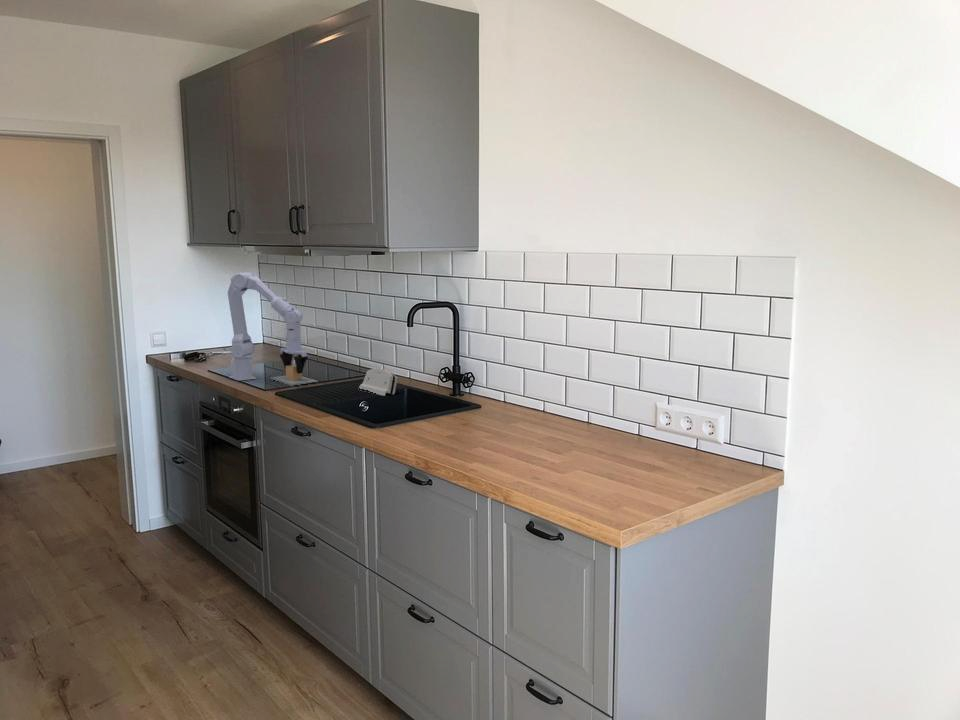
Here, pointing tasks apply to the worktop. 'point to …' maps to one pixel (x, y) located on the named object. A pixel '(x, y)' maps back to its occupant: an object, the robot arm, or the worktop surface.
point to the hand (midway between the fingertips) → (293, 372)
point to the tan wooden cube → (292, 373)
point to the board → (293, 382)
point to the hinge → (379, 382)
